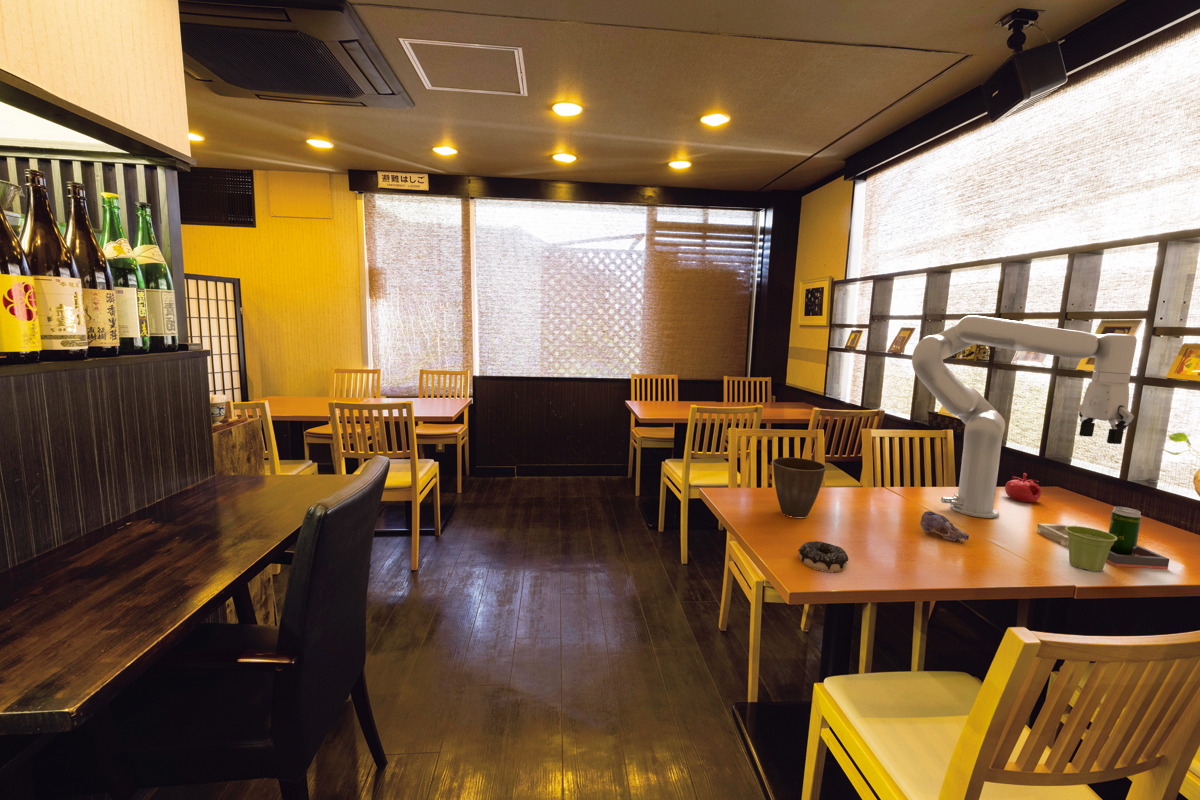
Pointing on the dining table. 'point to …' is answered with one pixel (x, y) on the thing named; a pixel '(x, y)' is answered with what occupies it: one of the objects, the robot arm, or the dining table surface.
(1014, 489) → the pomegranate
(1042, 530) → the cedar frame
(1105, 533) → the plant pot
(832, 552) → the donut
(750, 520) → the dining table surface
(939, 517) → the skull
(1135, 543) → the beer can
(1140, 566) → the lacquer tray
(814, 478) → the plant pot
